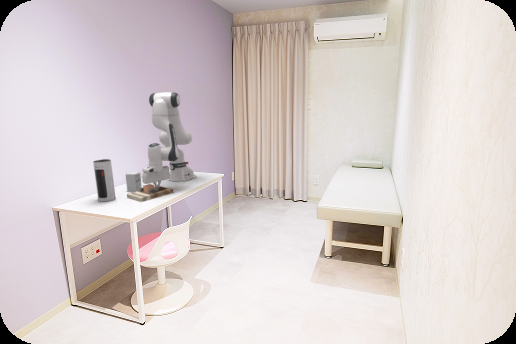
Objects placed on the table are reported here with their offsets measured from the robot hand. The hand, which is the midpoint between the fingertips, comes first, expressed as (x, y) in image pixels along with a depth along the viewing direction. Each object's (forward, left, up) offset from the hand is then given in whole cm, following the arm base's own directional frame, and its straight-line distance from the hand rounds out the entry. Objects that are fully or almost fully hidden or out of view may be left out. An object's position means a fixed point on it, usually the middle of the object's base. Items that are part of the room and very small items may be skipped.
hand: (157, 187), depth 222 cm
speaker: (+28, -15, -4) cm, 32 cm away
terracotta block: (+7, 0, -2) cm, 7 cm away
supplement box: (+5, -20, -4) cm, 21 cm away
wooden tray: (+6, 0, -4) cm, 7 cm away
